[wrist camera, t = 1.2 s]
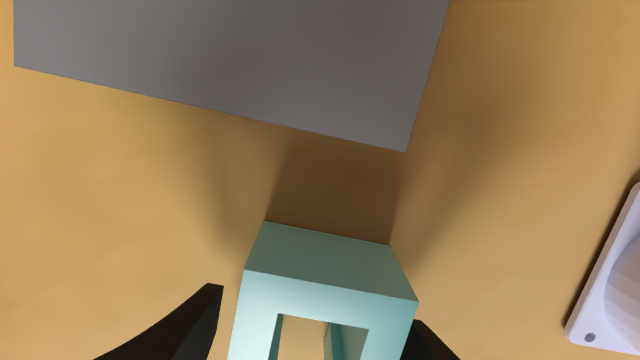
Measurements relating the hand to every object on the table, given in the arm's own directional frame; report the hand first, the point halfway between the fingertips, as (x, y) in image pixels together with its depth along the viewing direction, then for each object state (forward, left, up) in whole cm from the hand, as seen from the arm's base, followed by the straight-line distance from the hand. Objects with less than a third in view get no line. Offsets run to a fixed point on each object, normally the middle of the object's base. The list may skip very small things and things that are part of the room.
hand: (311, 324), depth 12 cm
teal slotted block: (0, 0, -2) cm, 2 cm away
